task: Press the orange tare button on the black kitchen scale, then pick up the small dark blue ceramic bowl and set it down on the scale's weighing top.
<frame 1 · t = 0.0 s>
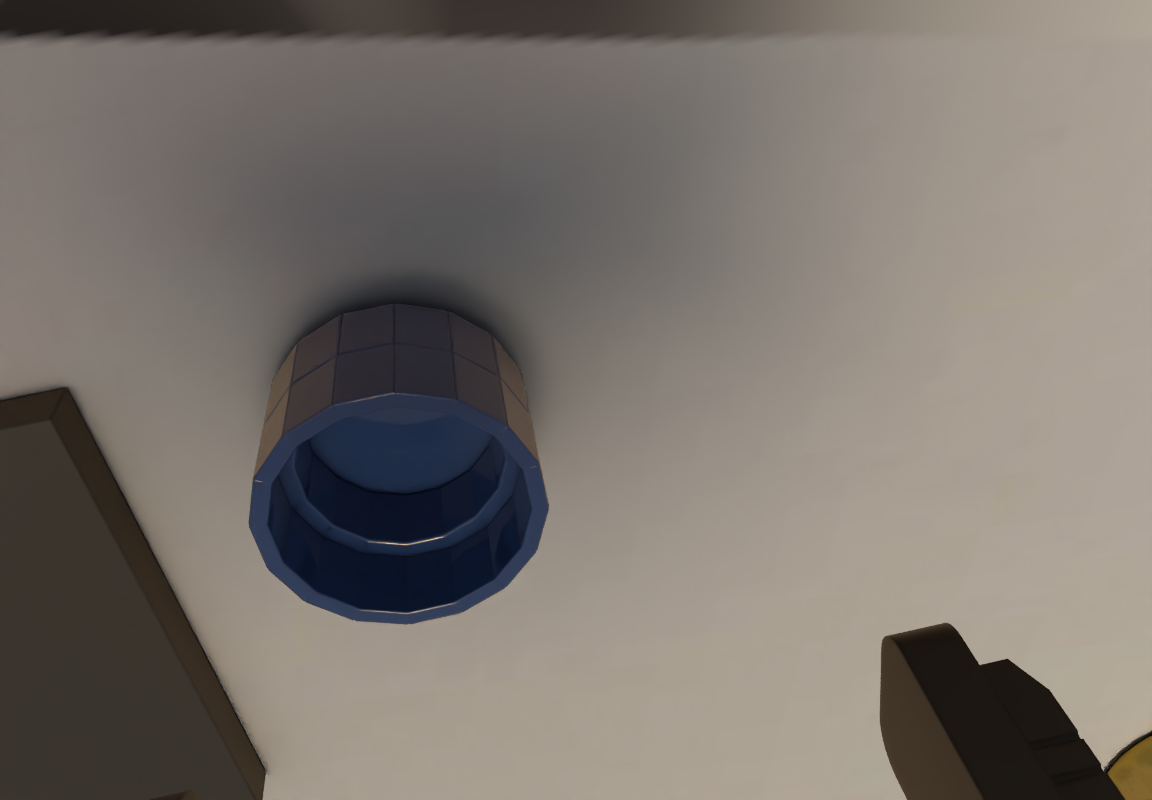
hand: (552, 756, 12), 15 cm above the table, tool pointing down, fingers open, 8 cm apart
bowl: (401, 406, 26), on the table
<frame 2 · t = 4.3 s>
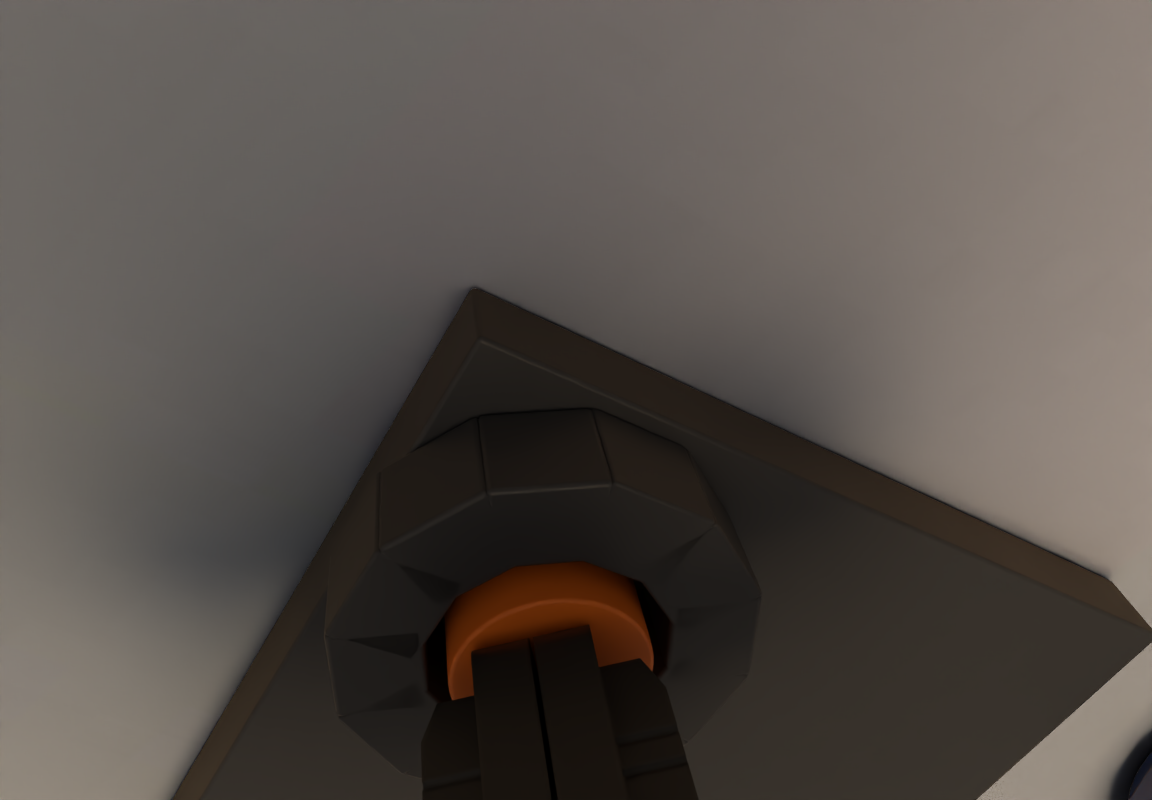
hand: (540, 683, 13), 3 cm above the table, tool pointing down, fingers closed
tare button: (545, 632, 13), point 3 cm above the table, slide at -0.7 cm, touching gripper
scale: (592, 754, 19), on the table
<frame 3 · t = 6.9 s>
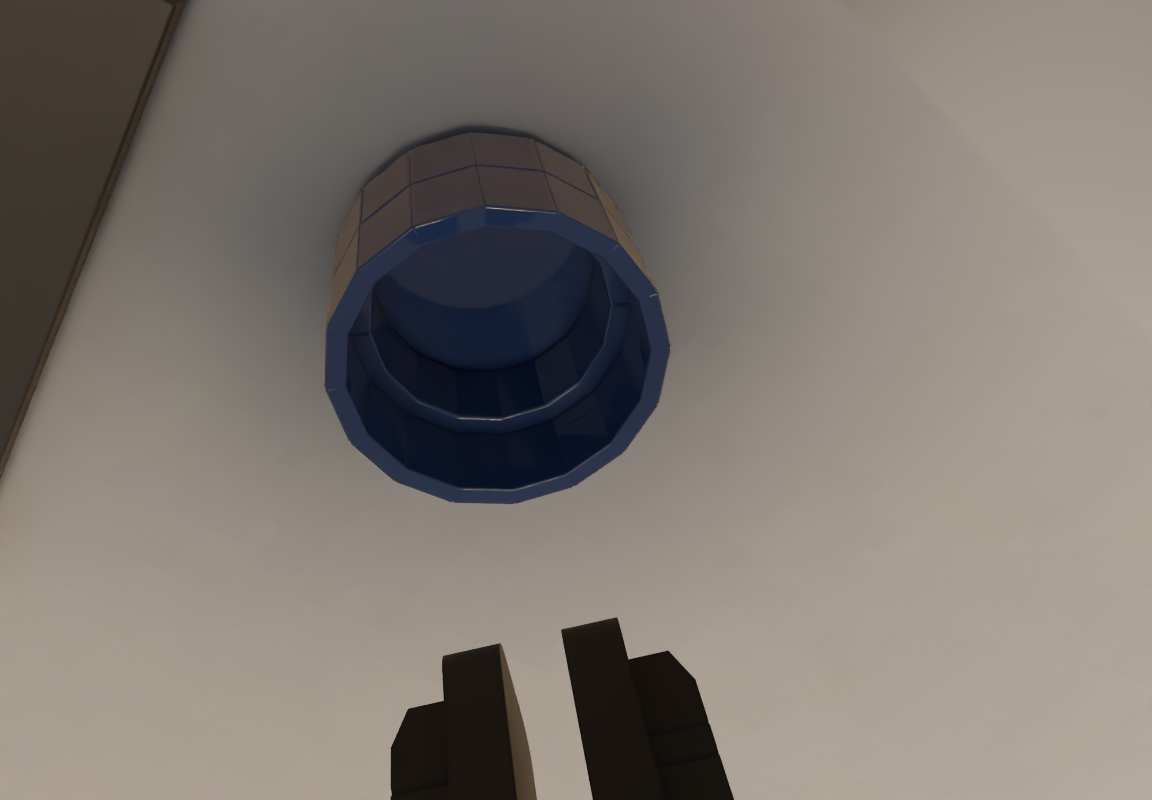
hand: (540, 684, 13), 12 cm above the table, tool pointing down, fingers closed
bowl: (483, 266, 23), on the table
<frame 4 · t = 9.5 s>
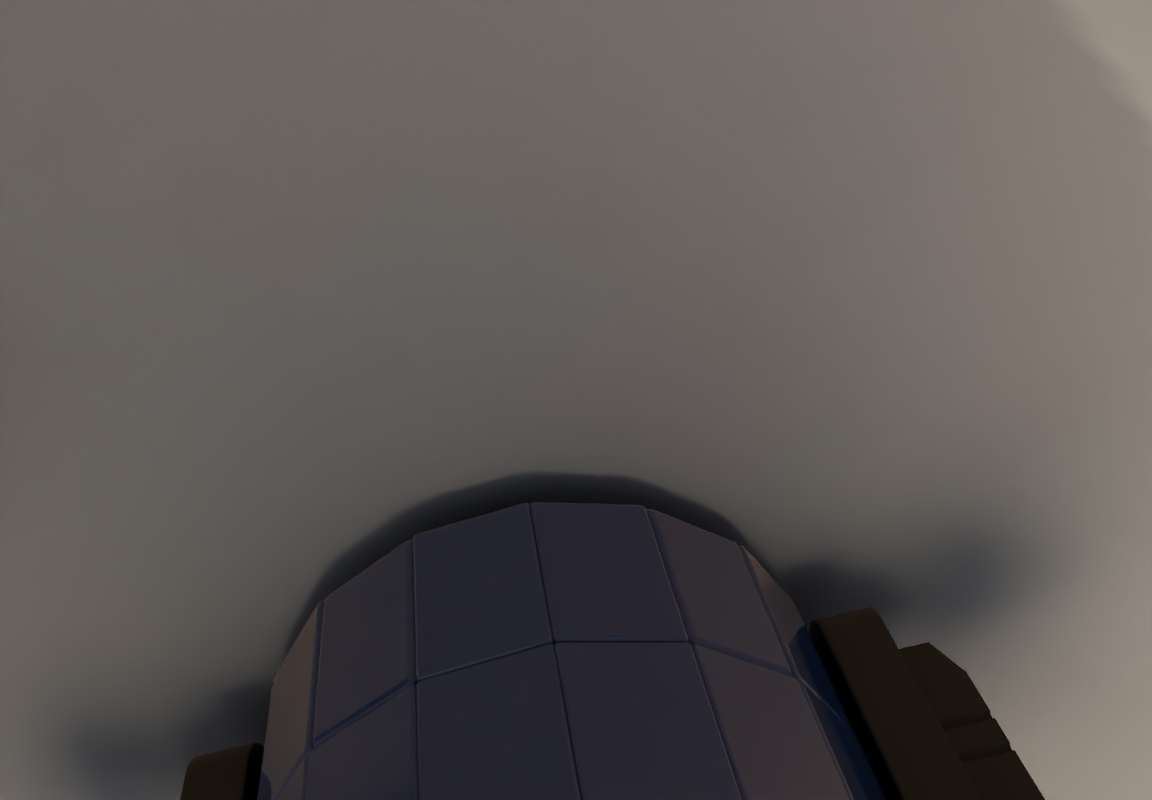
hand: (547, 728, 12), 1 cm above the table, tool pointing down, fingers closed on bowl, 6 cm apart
bowl: (541, 678, 13), on the table, touching gripper
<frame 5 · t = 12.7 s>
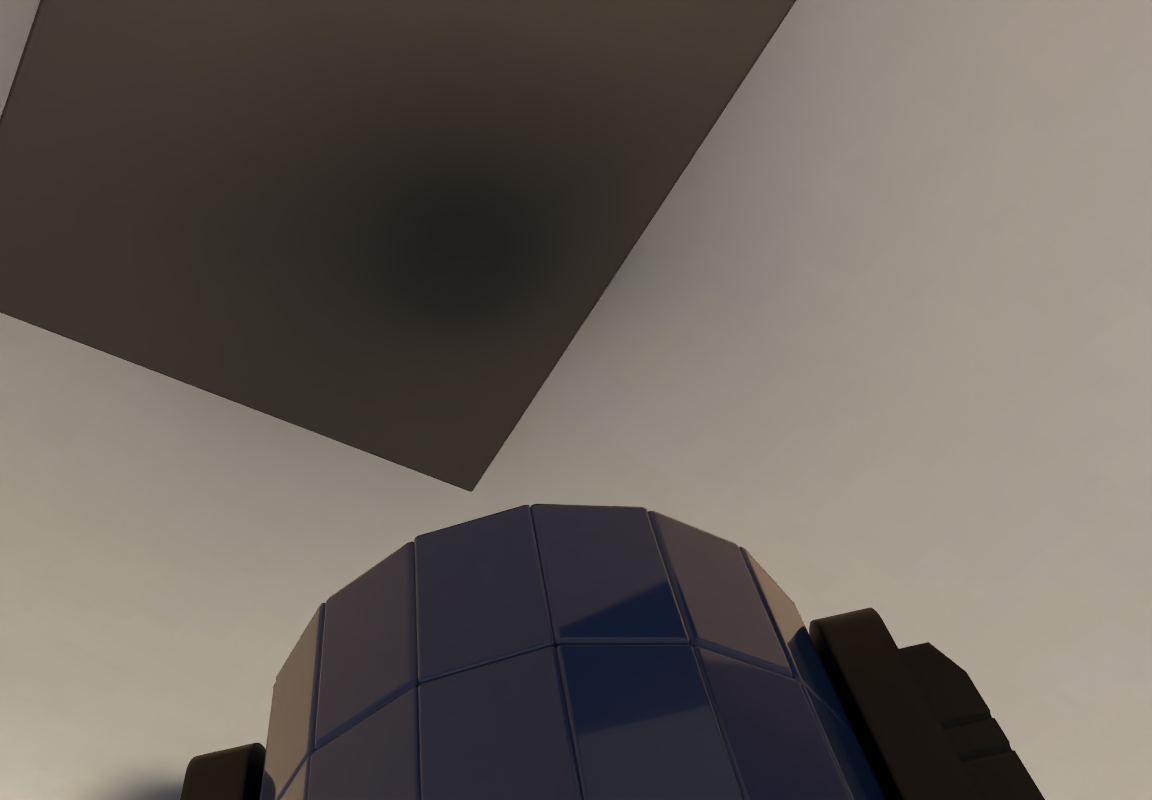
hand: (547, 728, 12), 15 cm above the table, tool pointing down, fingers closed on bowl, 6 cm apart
scale: (371, 114, 23), on the table
bowl: (543, 679, 13), point 14 cm above the table, touching gripper
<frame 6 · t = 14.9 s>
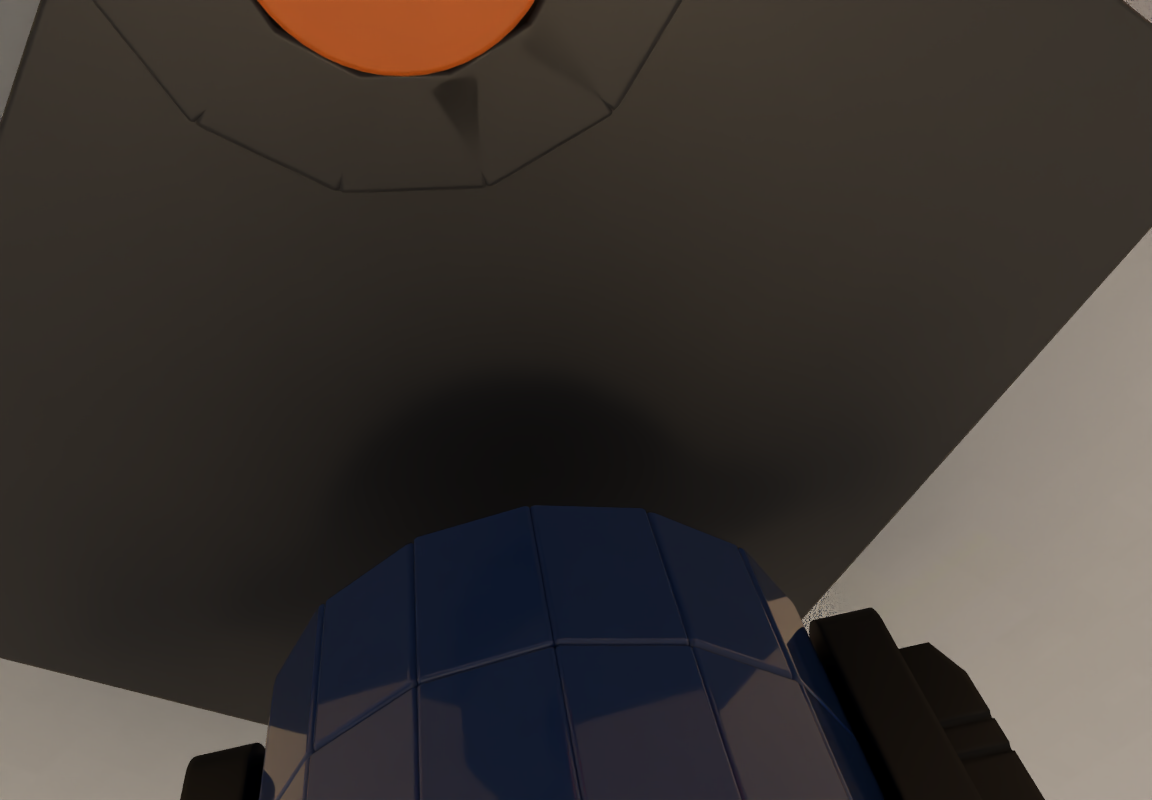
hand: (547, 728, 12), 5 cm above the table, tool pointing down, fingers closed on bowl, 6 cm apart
scale: (511, 323, 14), on the table
bowl: (542, 680, 13), point 4 cm above the table, touching gripper
when the fingers open (2 cm above the table, at t = 16.3 s): bowl stays where it is, resting on scale.
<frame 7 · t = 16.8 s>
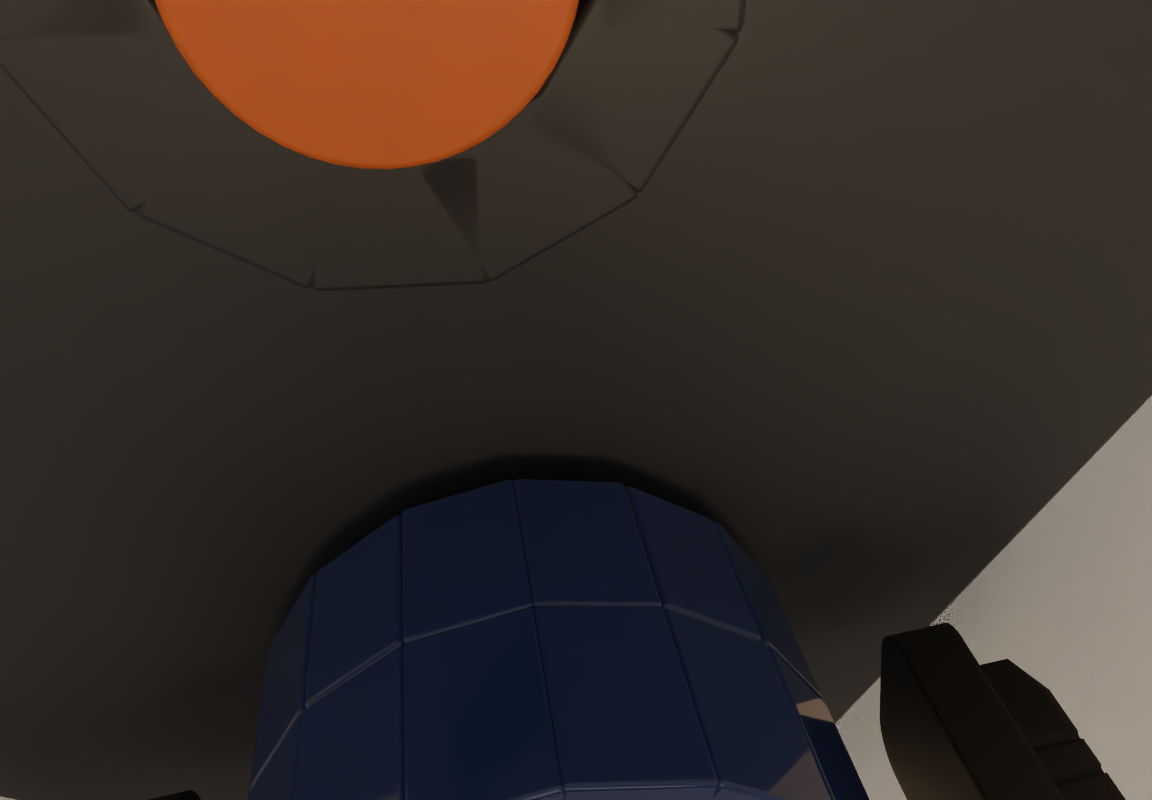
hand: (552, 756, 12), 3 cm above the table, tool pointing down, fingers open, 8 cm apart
scale: (514, 405, 13), on the table
bowl: (527, 652, 13), point 1 cm above the table, touching scale
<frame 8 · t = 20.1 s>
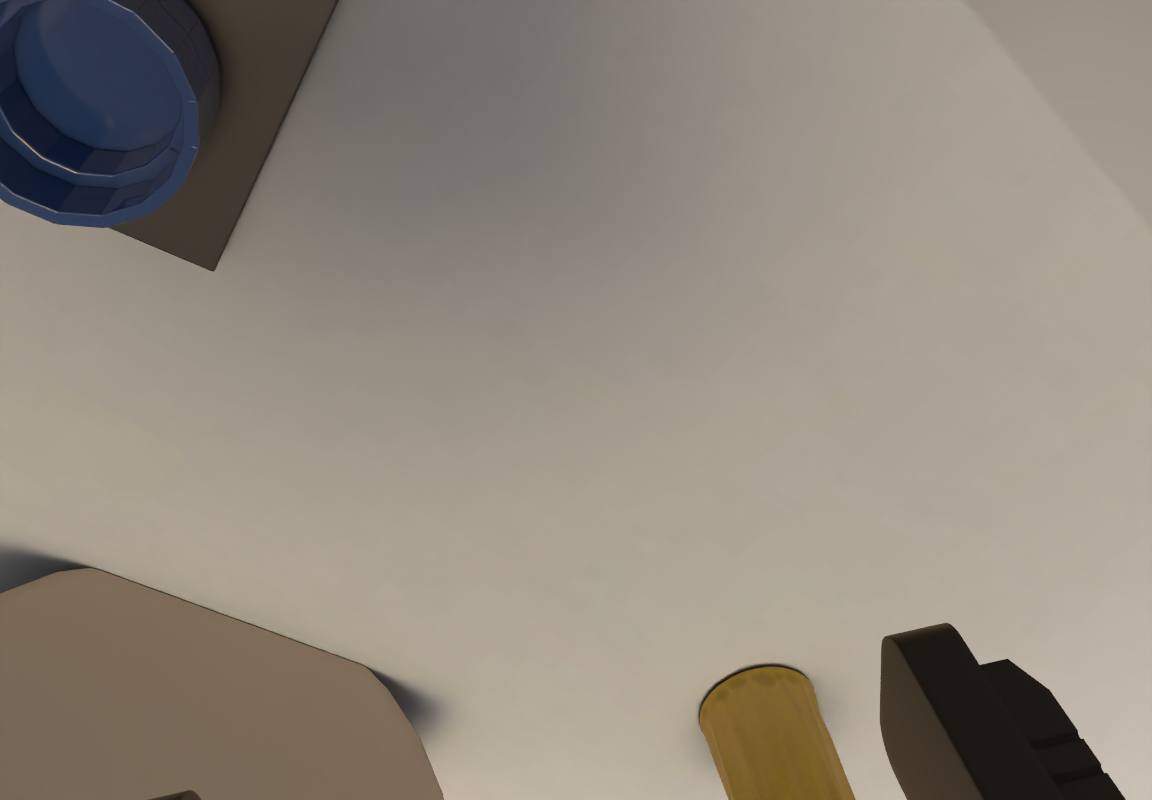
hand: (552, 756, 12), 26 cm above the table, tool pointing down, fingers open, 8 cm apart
vase: (755, 702, 52), on the table
bowl: (108, 66, 30), point 1 cm above the table, touching scale
alarm clock: (199, 670, 46), on the table
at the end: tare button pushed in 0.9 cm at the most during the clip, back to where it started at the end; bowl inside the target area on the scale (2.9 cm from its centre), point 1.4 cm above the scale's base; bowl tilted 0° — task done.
